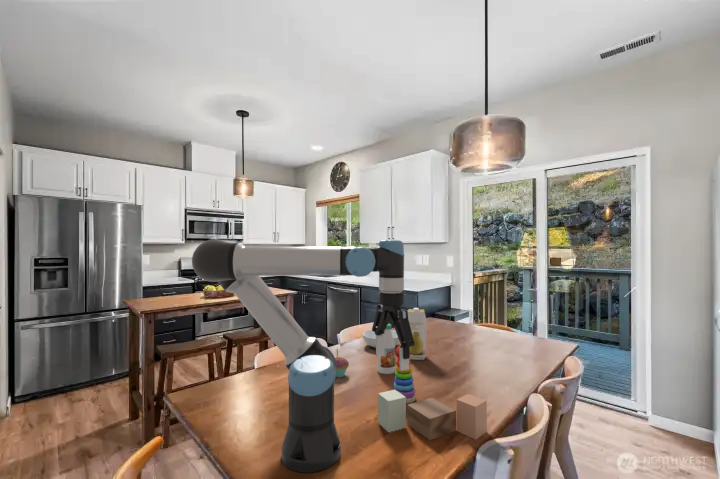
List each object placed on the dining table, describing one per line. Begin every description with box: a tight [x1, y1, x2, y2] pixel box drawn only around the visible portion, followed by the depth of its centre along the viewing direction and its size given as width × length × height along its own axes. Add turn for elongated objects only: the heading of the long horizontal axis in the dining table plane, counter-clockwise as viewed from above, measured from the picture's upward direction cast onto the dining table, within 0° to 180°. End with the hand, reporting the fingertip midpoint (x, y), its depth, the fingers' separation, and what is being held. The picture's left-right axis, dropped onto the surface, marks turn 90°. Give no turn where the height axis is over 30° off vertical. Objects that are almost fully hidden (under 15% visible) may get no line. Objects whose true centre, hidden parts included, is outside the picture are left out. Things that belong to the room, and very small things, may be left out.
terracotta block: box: [456, 393, 488, 440], centre depth 99 cm, size 6×6×9 cm
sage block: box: [377, 389, 407, 433], centre depth 103 cm, size 6×6×9 cm
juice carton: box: [407, 307, 427, 361], centre depth 165 cm, size 9×8×24 cm
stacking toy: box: [393, 345, 417, 405], centre depth 120 cm, size 8×8×19 cm
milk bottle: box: [376, 323, 396, 375], centre depth 147 cm, size 8×8×20 cm
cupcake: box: [335, 348, 350, 378], centre depth 143 cm, size 9×8×12 cm
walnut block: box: [407, 396, 457, 441], centre depth 102 cm, size 10×10×6 cm
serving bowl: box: [362, 329, 400, 349], centre depth 184 cm, size 21×21×7 cm
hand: (391, 362), depth 103 cm, fingers open, 13 cm apart
